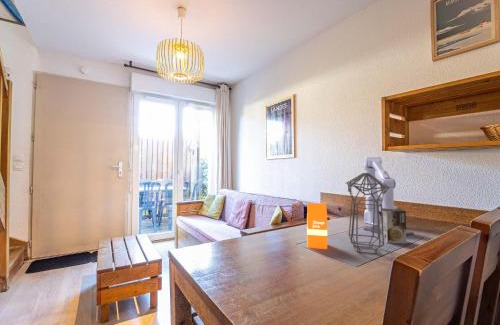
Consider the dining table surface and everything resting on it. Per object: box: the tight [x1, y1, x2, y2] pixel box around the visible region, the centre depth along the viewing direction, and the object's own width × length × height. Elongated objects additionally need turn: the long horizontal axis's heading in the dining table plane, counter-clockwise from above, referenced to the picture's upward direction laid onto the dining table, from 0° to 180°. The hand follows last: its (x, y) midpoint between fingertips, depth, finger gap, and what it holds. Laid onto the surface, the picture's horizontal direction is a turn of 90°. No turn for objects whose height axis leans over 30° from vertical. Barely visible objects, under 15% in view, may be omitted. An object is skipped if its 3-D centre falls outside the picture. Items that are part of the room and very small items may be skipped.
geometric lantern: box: [345, 172, 390, 255], centre depth 106 cm, size 16×16×35 cm
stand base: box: [363, 224, 415, 236], centre depth 137 cm, size 18×18×5 cm
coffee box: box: [382, 208, 407, 245], centre depth 119 cm, size 9×6×16 cm
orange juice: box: [306, 202, 328, 250], centre depth 113 cm, size 8×9×20 cm
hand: (388, 223), depth 137 cm, fingers open, 5 cm apart
